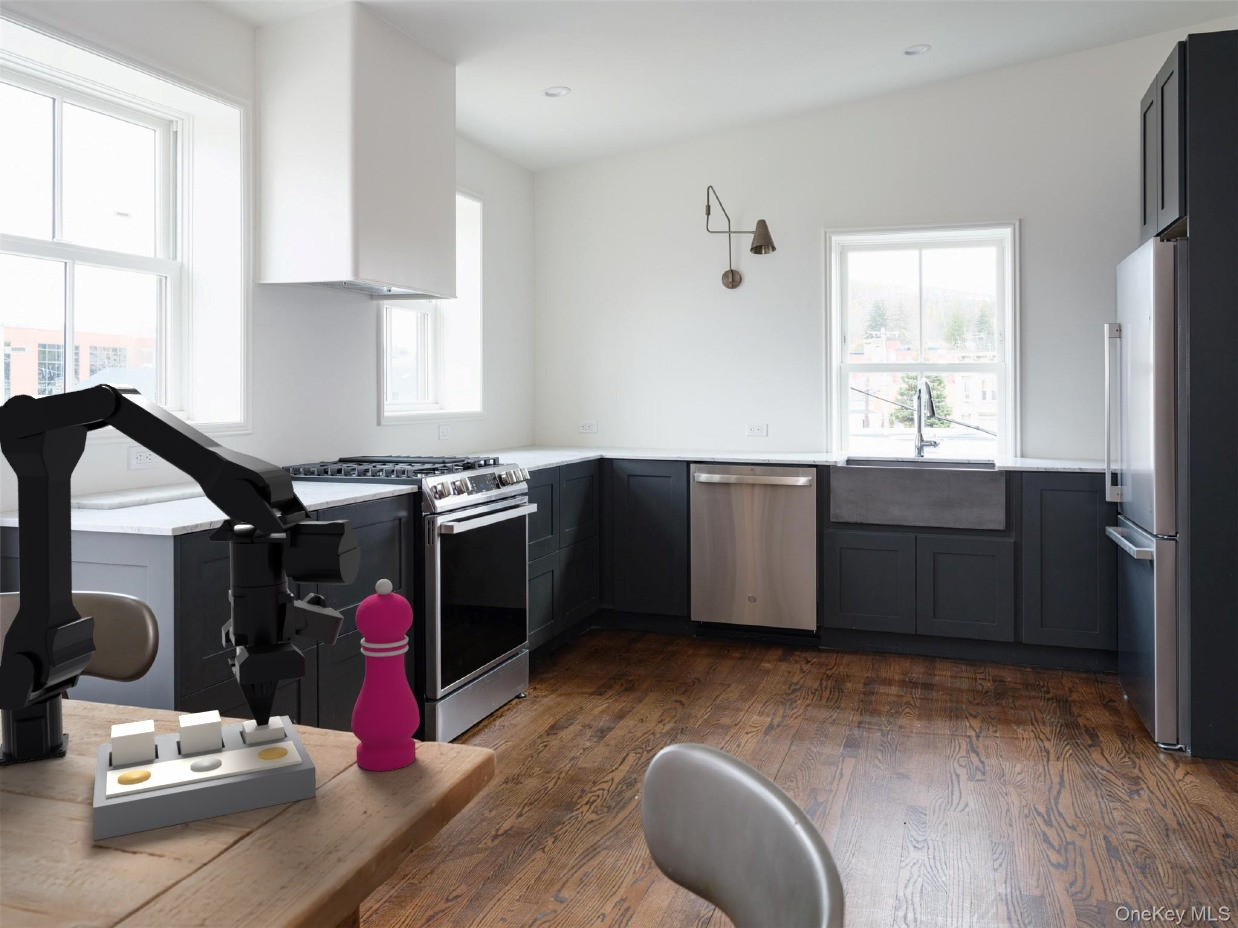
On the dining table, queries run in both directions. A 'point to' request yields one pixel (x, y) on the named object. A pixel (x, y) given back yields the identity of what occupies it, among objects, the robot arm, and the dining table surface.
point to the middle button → (200, 732)
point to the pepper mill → (385, 684)
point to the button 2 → (262, 730)
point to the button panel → (199, 781)
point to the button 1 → (133, 742)
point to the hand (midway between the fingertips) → (262, 724)
